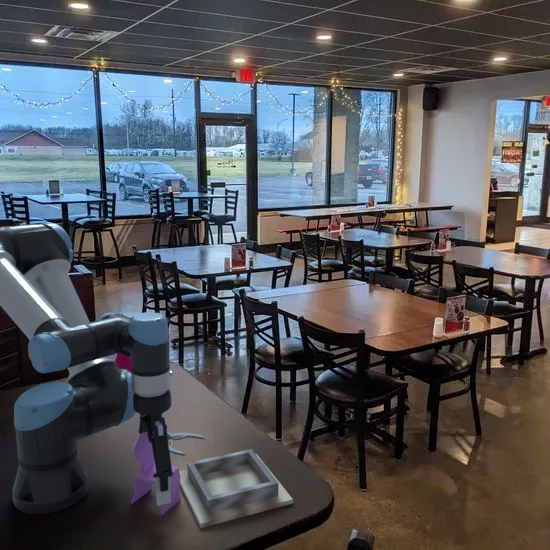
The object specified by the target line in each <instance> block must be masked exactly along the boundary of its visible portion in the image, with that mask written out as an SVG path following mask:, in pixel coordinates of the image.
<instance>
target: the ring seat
mask: <svg viewBox="0 0 550 550" xmlns="http://www.w3.org/2000/svg"><path fill="white" fill-rule="evenodd" d="M186 465H187V469H183V470H179V472H180V476H181V478H180V489H181V491H182V493H183V495H184V497H185V499H186V502H187V504H188V505H189V507H190V510H191V511H192V513H193V515H194V517H195V519H196V522H197V524H198V525H199V528H200V529H203V528H205V527H210V526H213V525H214V526H215V525H217V524H221V523H225V522H228V521H231V520H237V519H241V518H245V517H247V516H252V515H256V514H260V513H262V512H263V513H264V512H266V511H269V510H270V511H271V510H274V509H278V508H282V507H285V506H288V505H292V504H294V498H292V496H291V495H290V494H289V493H288V491H287V490H286V488H284V486H283V485H282V484H281V482H280V481H279V480H278V479H277V477H276V476H275V475H274V474H273V473H272V471H271V470H270V469H269V467H268V466H267V465H266V464H265V462H264V461H263V460H262V458H261V457H260V456H259V455H258V454H257V453H255V452H254V450H253V449H252V448H250V449H245V450H241V451H237V452H235V451H234V452H232V453H228V454H223V455H217V456H212V457H209V458H204V459H199V460H195V461H194V460H193V461H191V462H187V463H186Z"/></svg>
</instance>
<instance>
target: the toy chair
mask: <svg viewBox="0 0 550 550" xmlns="http://www.w3.org/2000/svg"><path fill="white" fill-rule="evenodd" d="M152 437H154V436H152ZM132 457H133V458H134V459H135V460H136V461H138V462H140V466H141V469H139V470H138V471H137V472H135V473H134V478H133V483H134V492H133V496H132V498H131V500H130V504H134V503H136V501H138V500H139V499H140V498H141V497H143V496H145V495H146V494H148V492H150V491H151V490H152V485H153V486H155V487H156V483H155V478H153V475H154V474H156V467H155V461H154V455H153V449H152V444H151V443H150V442H149V441H148V435H147V432H144V433H142V434H140V433H139V435H138V437H137V439H136V440H135V443H134V446H133V447H132ZM171 467H172V472H173V475H172V476H170V494H171V503H167V504H163V506H162V508H161V511H160V514H159V515H160V516H163V515H164V514H165V513H166V512H168V511H169V510H170V509H171V508H173V507H174V506H175V505H176V504H177V503H179V502H180V501H181V493H180V492H181V491H180V489H181V487H180V478H181V476H180V472H179V471H180V468H179V467H178V466H175V465H172V464H171Z"/></svg>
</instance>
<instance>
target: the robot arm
mask: <svg viewBox="0 0 550 550" xmlns="http://www.w3.org/2000/svg"><path fill="white" fill-rule="evenodd" d="M72 248H73V243H72V240H71V238H70V236H69V234H68V233H67V231H66V230H65V229H64V228H63V227H61V226H60V225H58V224H56V223H53V222H48V223H45V222H37V223H36V222H35V223H33V224H32V223H31V224H21V225H11V226H10V225H7V226H0V307H1V308H2V309H3V311H5V314H7V315H8V316H9V317H10V318H11V320H12V321H13V322H14V324H16V326H18V328H19V329H20V330H21V331H22V333H23V334H24V335H25V336H26V337H27V339H28V340H29V341H28V344H27V346H28V347H27V353H28V357H29V360H30V361H31V365H32V366H33V367H32V368H34V369H35V371H37V372H38V373H41V374H48V373H52V372H59V371H64V370H66V369H67V370H68V372H69V374H68V377H67V378H66V382H65V381H61V380H60V381H53V382H49V381H48V382H45V383H40V384H38V385H36V386H33V387H31V388H29V389H28V390H26V391H24V392H22V393H21V394H20V395H19V396H18V398H17V400H15V402H14V407H13V410H14V411H13V414H14V415H13V416H14V417H13V425H14V431H15V438H16V439H15V440H16V449H17V458H18V459H17V461H18V469H17V472H16V476H15V480H14V483H13V487H12V503H13V506H14V507H15V509H17V510H18V511H20V512H22V513H25V514H29V515H47V514H53V513H57V512H60V511H63V510H66V509H68V508H71V507H72V506H74V505H75V504H77V503H78V502H81V500H82V499H83V498H85V496H86V495H87V493H88V491H89V477H88V474H87V471H86V469H85V467H84V464H83V462H82V461H81V459H80V457H79V454H78V441H80V440H82V439H84V438H88V437H89V436H93V435H95V434H98V433H100V432H103V431H106V430H108V429H110V428H113V427H118V426H120V424H123V423H124V422H127V421H129V420H131V419H132V418H133V417H134V416H135V415H136V413H137V414H139V426H138V427H139V428H138V429H139V430H138V434H139V435H140V434H142V433H144V432H147V435H148V441H149V442H150V443H151V444H152V449H153V455H154V461H155V467H156V474H154V475H153V478H155V483H156V486H155V502H156V506H161V505H164V504H167V503H171V494H170V476H172V475H173V472H172V467H171V465H172V461H171V454H170V451H169V446H170V445H169V440H168V438H169V437H167V431H168V425H167V424H166V419H165V417H163V414H164V413H165V412H168V410H170V409H171V407H172V390H171V389H170V388H171V378H170V377H173V375H174V373H173V371H171V367H170V366H171V360H170V359H171V358H170V332H169V324H168V322H169V321H168V319H167V316H166V315H164V314H162V313H160V312H152V311H151V312H147V311H145V312H140V313H137V314H134V315H132V316H131V317H130V316H127V315H124V314H123V313H122V314H120V313H119V312H117V313H116V312H115V313H114V312H106V313H103V314H101V315H100V316H99V317H97V318H96V319H95V320H94V321H91V322H90V320H89V318H88V316H87V313H86V311H85V309H84V307H83V304H82V302H81V299H80V298H79V296H78V293H77V291H76V289H75V286H74V285H73V282H72V280H71V278H70V276H69V272H70V270H71V267H72V266H71V263H72V262H73V260H74V250H73V249H72ZM117 353H121V354H123V355H126V356H128V357H131V368H132V371H131V373H130V372H129V371H128V370H125V369H120V370H119V369H118V367H117V365H116V362H115V359H112V358H109V357H111V356H113V355H117ZM152 436H154V437H152Z"/></svg>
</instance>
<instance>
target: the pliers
mask: <svg viewBox="0 0 550 550" xmlns="http://www.w3.org/2000/svg"><path fill="white" fill-rule="evenodd" d="M167 437H168V438H172V440H181V439H184V438H189V437H190V438H196V439H197V438H198V439H202V438H203V439H204V440H205V437H206V436H204V435H201V434H198V433H194V432H193V433H191V432H174V433H171V432H170V431H168V430H167ZM172 440H169V443H170V444H171V445H169V452H171V453H173V454H177V455H183V456H185V455H186V452H185V451H184V452H183V451H181V450H178V449H176V448H174V447H173V446H174V444H173V443H174V442H173V441H172Z"/></svg>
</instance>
